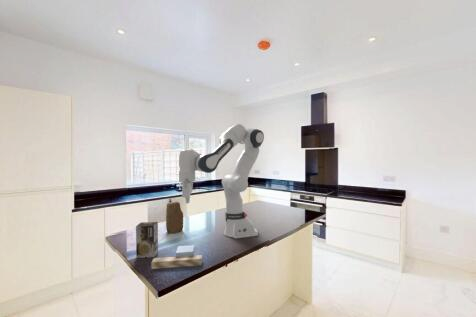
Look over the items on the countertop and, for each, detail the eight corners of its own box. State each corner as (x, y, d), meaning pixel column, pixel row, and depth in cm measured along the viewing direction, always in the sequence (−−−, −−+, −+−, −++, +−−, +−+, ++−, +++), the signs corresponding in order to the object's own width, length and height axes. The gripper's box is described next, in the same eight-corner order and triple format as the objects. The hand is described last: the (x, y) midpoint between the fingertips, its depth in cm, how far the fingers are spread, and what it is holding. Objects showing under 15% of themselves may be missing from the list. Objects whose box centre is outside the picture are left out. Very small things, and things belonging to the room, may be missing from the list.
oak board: (201, 261, 100) (201, 254, 100) (201, 265, 96) (201, 258, 96) (153, 264, 97) (153, 258, 98) (151, 268, 94) (151, 262, 94)
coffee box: (158, 252, 111) (158, 221, 111) (154, 257, 105) (154, 225, 105) (141, 252, 111) (140, 221, 111) (135, 258, 104) (135, 225, 104)
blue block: (194, 254, 108) (194, 245, 108) (193, 262, 100) (193, 251, 100) (178, 256, 107) (178, 246, 107) (175, 263, 99) (175, 252, 99)
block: (167, 234, 137) (167, 204, 138) (165, 231, 144) (165, 202, 144) (184, 231, 143) (184, 202, 143) (181, 228, 149) (181, 200, 150)
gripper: (191, 179, 107) (192, 206, 107) (194, 176, 127) (194, 199, 127) (178, 179, 106) (179, 207, 106) (183, 176, 126) (184, 199, 126)
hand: (187, 202), depth 117 cm, fingers closed
